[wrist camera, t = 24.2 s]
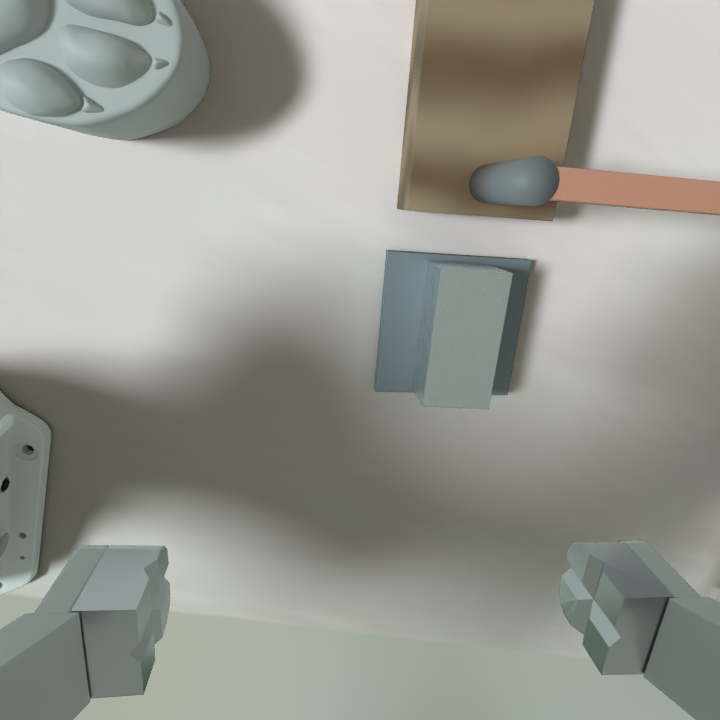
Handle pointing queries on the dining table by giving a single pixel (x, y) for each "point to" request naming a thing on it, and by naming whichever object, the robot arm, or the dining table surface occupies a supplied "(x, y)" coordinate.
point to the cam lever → (589, 187)
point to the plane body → (488, 96)
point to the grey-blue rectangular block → (459, 334)
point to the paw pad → (102, 64)
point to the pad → (405, 310)
